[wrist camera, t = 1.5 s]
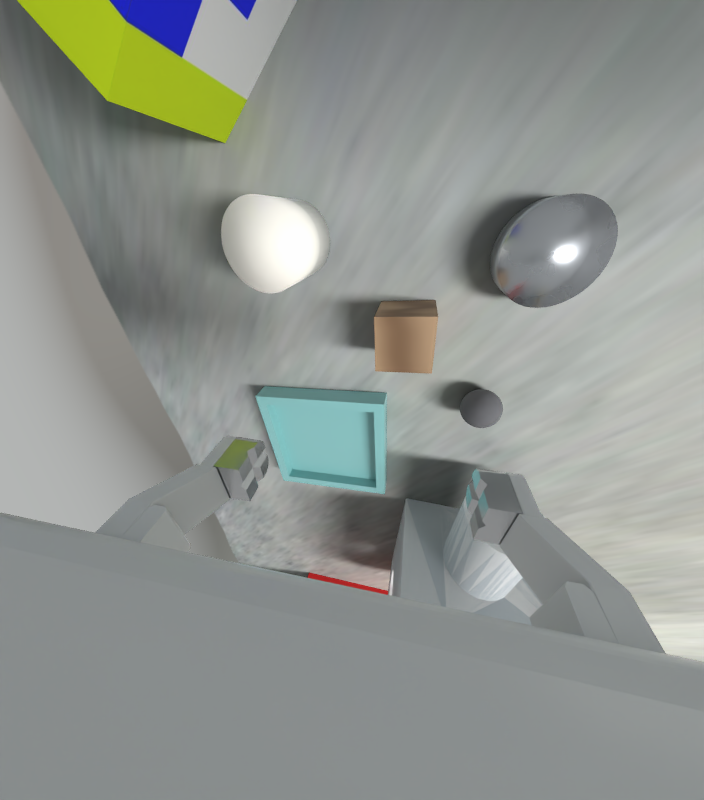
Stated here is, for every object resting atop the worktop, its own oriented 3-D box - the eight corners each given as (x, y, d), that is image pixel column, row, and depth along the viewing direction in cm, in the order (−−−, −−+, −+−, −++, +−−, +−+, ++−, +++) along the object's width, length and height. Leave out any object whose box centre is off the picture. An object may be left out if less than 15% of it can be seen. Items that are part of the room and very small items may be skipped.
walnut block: (435, 299, 24) (437, 316, 20) (430, 350, 27) (431, 373, 23) (381, 301, 26) (374, 317, 22) (382, 349, 28) (375, 371, 24)
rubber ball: (501, 383, 28) (512, 405, 24) (493, 413, 30) (501, 437, 27) (461, 381, 28) (466, 402, 25) (455, 411, 31) (459, 434, 27)
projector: (484, 589, 53) (503, 701, 41) (390, 567, 56) (381, 664, 44) (571, 477, 33) (659, 632, 21) (416, 451, 36) (413, 573, 24)
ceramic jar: (325, 195, 22) (292, 188, 16) (334, 274, 25) (308, 292, 19) (260, 202, 23) (208, 199, 17) (276, 277, 26) (237, 294, 21)
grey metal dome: (611, 191, 18) (640, 187, 16) (571, 296, 22) (589, 306, 20) (501, 201, 20) (512, 199, 17) (481, 298, 24) (488, 308, 21)
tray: (386, 392, 31) (384, 404, 29) (386, 480, 40) (384, 494, 38) (264, 386, 35) (255, 396, 33) (289, 468, 44) (283, 480, 42)
